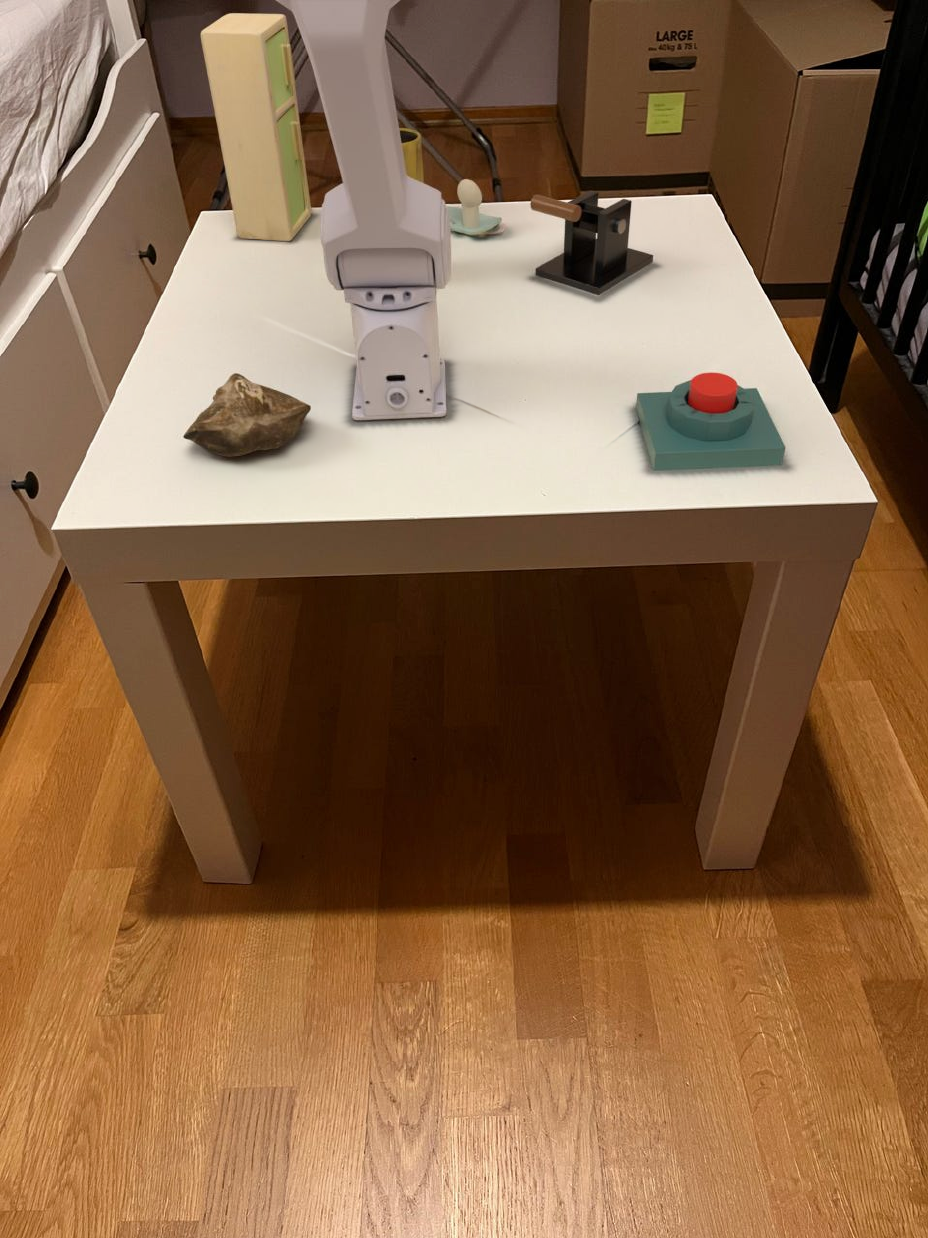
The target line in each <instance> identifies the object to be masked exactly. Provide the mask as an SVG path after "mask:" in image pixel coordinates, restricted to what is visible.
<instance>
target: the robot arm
mask: <svg viewBox="0 0 928 1238" xmlns="http://www.w3.org/2000/svg"><path fill="white" fill-rule="evenodd" d="M275 1H276V2H277V3H279V4H280V5H282V6H283V7H285V8H286V9H288V10H289V11H290V12H292V14H293V16H294V18H295V22H296V25H297V28H298V30H299V34H300V36H301V38H302V41H303V44H304V47H305V50H306V52H307V55H308V59H309V61H310V63H311V67H312V71H313V75H314V79H315V82H316V87H317V91H318V93H319V97H320V101H321V104H322V109H323V113H324V116H325V120H326V123H327V128H328V131H329V135H330V139H331V142H332V146H333V150H334V153H335V157H336V161H337V165H338V169H339V172H340V176H341V181H342V183H340V184H339V185H337V186H335V187H334V188H332V189H330V190H329V191H327V192H326V193H325V194H324V198H323V199H324V200H323V203H322V204H321V211H320V243H321V247H322V252H323V262H324V270H325V275H326V277H327V280H328V282H329V284H330V285H331V286H332V287H333V288H334V289H335V290H336V291H338V292H339V291H340V292H341V291H343V298H344V303H346V304H349V307H350V316H351V325H352V333H353V341H354V350H355V358H356V371H355V380H354V390H353V400H352V411H351V417H352V419H353V420H355V421H372V420H392V419H393V420H394V419H396V420H399V419H418V418H420V419H421V418H440V417H445V416H446V415H447V389H446V388H447V387H446V386H447V385H446V384H447V383H446V360H445V359H444V358H442V357H441V355H440V340H439V339H440V338H439V320H438V319H439V318H438V317H439V316H438V302H437V291H438V290H444V289H445V288H446V287H447V285H448V284H449V283H450V282H451V278H452V235H451V234H452V233H451V231H452V230H451V229H450V223H451V222H450V218H449V213H448V212H447V211H446V201H445V200H444V199H443V197H442V192H441V191H440V190H438V189H436V188H435V187H432V186H430V185H428V184H427V183H425V182H424V183H422V182H419V181H417V180H415V179H413V178H411V177H409V176H407V174H406V168H405V162H404V156H403V150H402V143H401V137H400V131H399V128H400V126H399V119H398V112H397V107H396V101H395V95H394V88H393V82H392V75H391V70H390V63H389V57H388V51H387V45H386V39H385V37H386V31H387V25H388V21H389V20H388V18H389V13H390V10H391V9H392V8H393V7H394V6H395V5H396V4H398V3H399V2H400V1H401V0H275Z"/></svg>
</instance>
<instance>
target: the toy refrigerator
mask: <svg viewBox="0 0 928 1238" xmlns="http://www.w3.org/2000/svg"><path fill="white" fill-rule="evenodd" d="M287 21H288V20H287V16H286V15H285V14H281V13H243V12H241V13H237V12H232V13H231V12H230V13H226V14H225V15H223V16H221V17H220V18H219V19H217V20H215V21H214V22H213V23H211V24H210V25H208V26H207V27H205V28H204V29H202V30H201V31H200V41H201V47H202V51H203V57H204V62H205V68H206V73H207V80H208V85H209V89H210V94H211V99H212V105H213V110H214V116H215V120H216V126H217V131H218V137H219V144H220V147H221V149H220V150H221V153H222V159H223V164H224V171H225V176H226V180H227V181H226V182H227V185H228V192H229V197H230V202H231V207H232V213H233V219H234V223H235V229H236V233H237V236H238V238H239V239H243V240H245V239H248V240H263V241H279V242H291V241H292V240H293V239H294V238H295V237H296V235H298V233H299V232H300V231H301V229H302V228H303V226H304V225H305V224H306V223H307V222H308V220H309V219H311V216H312V205H311V197H310V191H309V184H308V182H309V181H308V175H307V169H306V160H305V154H304V146H303V136H302V131H301V123H300V122H301V121H300V114H299V113H300V112H299V107H298V98H297V90H296V78H295V70H294V62H293V55H292V47H291V44H290V43H291V42H290V36H289V29H288V22H287Z"/></svg>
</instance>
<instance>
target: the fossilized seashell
mask: <svg viewBox="0 0 928 1238" xmlns="http://www.w3.org/2000/svg"><path fill="white" fill-rule="evenodd" d="M212 400H213V401H212V402H211V404H210V405H208V407H207V408H205V409H204V410H203V411H201V412H200V413H199V414H198V416H197V417H196V419H195V420H194V422H193V423H192V424H191V425H190V426H189V427H188V429H187V430H186V431H185V433H184V434H183V439H185V440H188V441H191V442H193V443H194V444H196V445H197V446H199V447H201V448H202V449H204V450H206V452H209V453H212V454H215V455H219V456H222V457H241V456H244V455H247V454H251V453H253V452H255V451H261V450H262V451H263V450H264V451H267V450H273V449H275V450H276V449H278V448H280V447H282V446H283V445H286V444H287V443H288V442H290V441H291V440H292V439H294V437H295V436H296V435H297V434H298V433H299V431H300V429H301V427H302V425H303V423H304V421H305V419H306V417H307V415H308V414H309V413H310V412H311V409H312V408H311V405H309V404H308V403H305V401H302V400H300V399H298V398H297V397H294V396H292V395H290V394H288V393H285V392H282V391H280V390H277V389H273V388H271V387H268V386H265V385H263V384H259V383H255V382H252V381H251V380H249V379H248V378H246V377H245V376H244V375H242V374H240V373H238V372H237V373H236V372H234V373H232V374H231V375H230V376H229V377H228V379H227V380H226V382H225V383H224V384H223V385H222V386H219V387H218V388H216V391H215V394H213V396H212Z"/></svg>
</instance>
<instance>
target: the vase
mask: <svg viewBox="0 0 928 1238" xmlns="http://www.w3.org/2000/svg"><path fill="white" fill-rule="evenodd" d="M399 131H400V137H401V143H402V150H403V156H404V162H405V168H406V174H407V176H409V177H411V178H413V179H415V180H417V181H419V182H422V183H424V184H425V180H424V179H425V178H424V164H423V163H424V162H423V148H422V147H423V146H422V145H423V143H422V135H421V133H420V132H419V131H417V130H414V129H413V128H406V127H399Z"/></svg>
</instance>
